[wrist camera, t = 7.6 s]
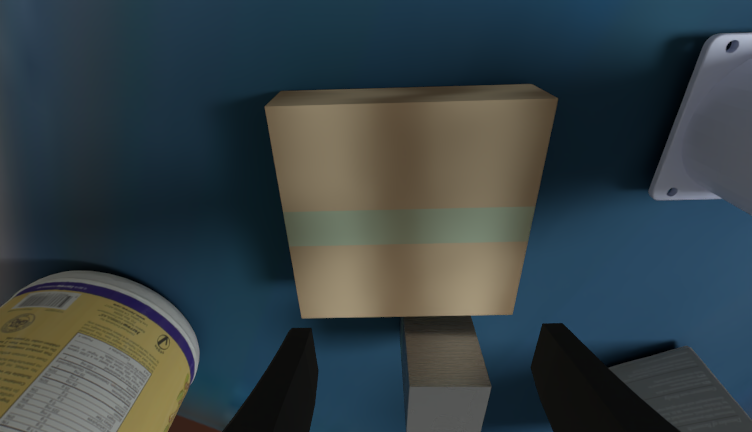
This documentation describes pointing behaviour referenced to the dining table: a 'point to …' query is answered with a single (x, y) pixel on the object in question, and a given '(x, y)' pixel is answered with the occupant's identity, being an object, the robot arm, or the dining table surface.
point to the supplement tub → (92, 356)
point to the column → (442, 374)
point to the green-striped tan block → (409, 195)
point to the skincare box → (684, 392)
